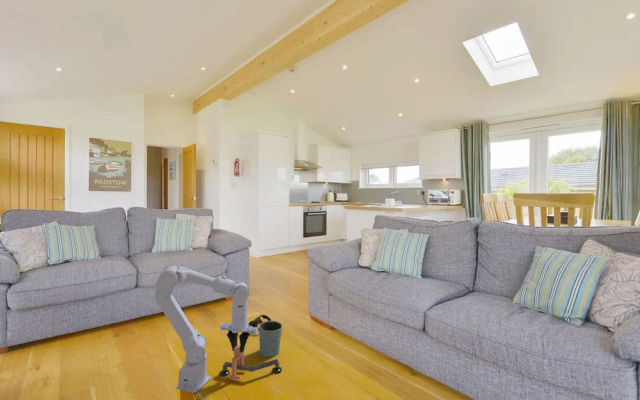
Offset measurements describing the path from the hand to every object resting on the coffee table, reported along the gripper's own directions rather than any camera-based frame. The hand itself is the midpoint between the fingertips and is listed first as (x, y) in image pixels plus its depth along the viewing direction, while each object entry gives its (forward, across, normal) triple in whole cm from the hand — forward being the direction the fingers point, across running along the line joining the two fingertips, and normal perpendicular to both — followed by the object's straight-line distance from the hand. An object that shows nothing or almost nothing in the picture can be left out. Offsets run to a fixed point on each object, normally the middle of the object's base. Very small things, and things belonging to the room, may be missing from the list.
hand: (238, 350), depth 116 cm
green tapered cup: (+10, +5, +20) cm, 23 cm away
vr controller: (+10, -8, +39) cm, 41 cm away
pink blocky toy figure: (+9, 0, 0) cm, 9 cm away
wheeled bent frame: (+10, +4, +4) cm, 11 cm away
